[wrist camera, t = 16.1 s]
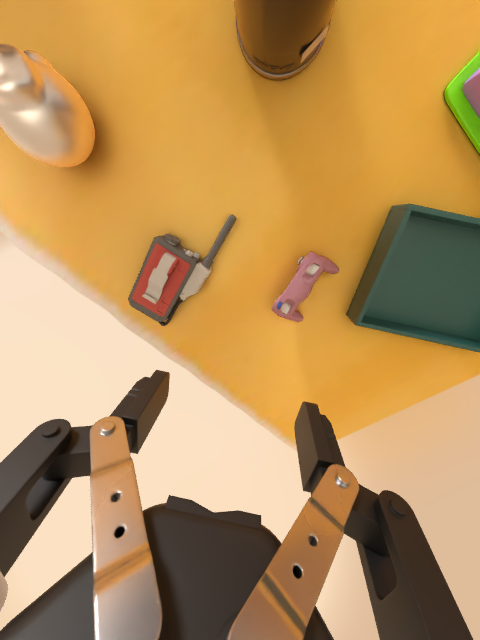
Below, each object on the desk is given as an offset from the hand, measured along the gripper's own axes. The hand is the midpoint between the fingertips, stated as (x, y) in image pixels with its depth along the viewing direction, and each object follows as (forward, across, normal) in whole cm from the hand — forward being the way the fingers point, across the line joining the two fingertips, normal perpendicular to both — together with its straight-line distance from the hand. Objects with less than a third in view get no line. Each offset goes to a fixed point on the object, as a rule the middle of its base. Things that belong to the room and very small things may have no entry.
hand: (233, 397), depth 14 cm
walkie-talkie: (+24, +11, -2) cm, 26 cm away
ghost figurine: (+24, +26, -16) cm, 38 cm away
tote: (+23, -26, -6) cm, 35 cm away
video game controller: (+24, -7, -2) cm, 25 cm away
